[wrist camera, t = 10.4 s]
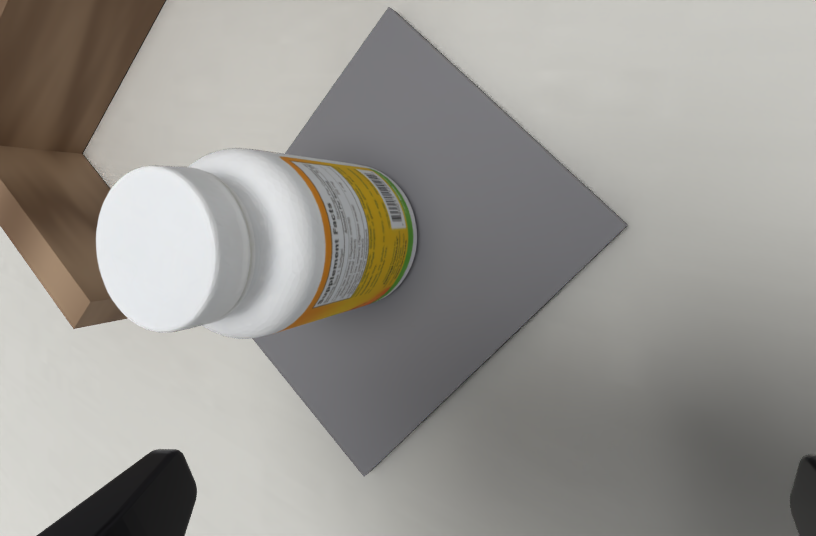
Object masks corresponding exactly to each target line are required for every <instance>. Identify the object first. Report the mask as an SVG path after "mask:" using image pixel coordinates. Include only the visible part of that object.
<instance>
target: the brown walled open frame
mask: <svg viewBox="0 0 816 536" xmlns="http://www.w3.org/2000/svg"><path fill="white" fill-rule="evenodd" d="M164 2H165V0H0V226H1V227H2V229H3V230H4V232H5V233H6V234H7V236H8V237H9V239H10V240H11V241H12V243H13V244H14V246H15V247H16V248H17V250H18V251H19V253H20V254H21V255H22V257H23V258H24V260H25V261H26V263H27V264H28V265H29V267H30V268H31V270H32V271H33V272H34V274H35V275H36V277H37V278H38V279H39V281H40V282H41V284H42V285H43V286H44V288H45V289H46V291H47V292H48V293H49V295H50V296H51V298H52V299H53V301H54V302H55V303H56V305H57V306H58V308H59V309H60V310H61V312H62V313H63V315H64V316H65V317H66V319H67V320H68V322H69V323H70V324H71V326H72V327H73V329H75V328H81V327H86V326H91V325H96V324H101V323H106V322H111V321H117V320H122V319H127V317H126V316H125V315H124V314H123V313H122V312H121V311H120V309H119V308H118V307H117V306H116V304H115V303H114V302H113V300H112V299H111V297H110V295H109V293H108V292H107V289H106V287H105V285H104V282H103V279H102V276H101V273H100V270H99V265H98V260H97V252H96V230H97V224H98V218H99V214H100V211H101V208H102V205H103V202H104V200H105V198H106V197H107V195H108V193H109V191H110V188H109V187H108V186H107V185H106V183H105V182H104V181H103V179H102V178H101V177H100V176H99V174H98V173H97V172H96V171H95V169H94V168H93V167H92V166H91V164H90V163H89V162H88V161H87V159H86V158H85V157H84V156H83V154H82V153H83V151H84V149H85V147H86V146H87V144H88V142H89V140H90V138H91V136H92V135H93V133H94V131H95V129H96V127H97V125H98V124H99V122H100V120H101V118H102V116H103V114H104V112H105V111H106V109H107V107H108V105H109V103H110V101H111V100H112V98H113V96H114V94H115V92H116V90H117V89H118V87H119V85H120V83H121V81H122V79H123V78H124V76H125V74H126V72H127V70H128V68H129V66H130V65H131V63H132V61H133V59H134V57H135V55H136V54H137V52H138V50H139V48H140V46H141V44H142V43H143V41H144V39H145V37H146V35H147V33H148V31H149V30H150V28H151V26H152V24H153V22H154V20H155V19H156V17H157V15H158V13H159V11H160V9H161V8H162V6H163V4H164Z"/></svg>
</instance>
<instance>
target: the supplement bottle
mask: <svg viewBox="0 0 816 536" xmlns="http://www.w3.org/2000/svg"><path fill="white" fill-rule="evenodd" d="M416 246H417V228H416V222H415V217H414V213H413V210H412V207H411V205H410V203H409V201H408V199H407V197H406V196H405V194H404V192H403V191H402V190H401V189H400V187H399V186H398V185H397V184H396V183H395V182H394V181H393V180H392V179H391V178H389V177H388V176H387V175H385V174H384V173H382V172H380V171H378V170H376V169H373V168H371V167H367V166H363V165H358V164H352V163H345V162H338V161H331V160H324V159H316V158H309V157H302V156H295V155H288V154H281V153H275V152H268V151H262V150H254V149H242V148H233V149H223V150H219V151H216V152H213V153H210V154H207V155H205V156H203V157H201V158H200V159H198V160H197V161H195V162H194V163H192V164H191V165H190V166H189V167H171V166H157V165H152V166H143V167H140V168H137V169H135V170H132V171H130V172H128V173H127V174H125V175H124V176H123V177H121V178H120V179H119V180H118V181H117V182H116V183H115V184H114V186H113V187H112V188H111V190H110V191H109V193H108V195H107V197H106V198H105V200H104V202H103V205H102V208H101V211H100V214H99V218H98V224H97V230H96V252H97V260H98V265H99V270H100V273H101V276H102V279H103V282H104V285H105V287H106V289H107V292H108V293H109V295H110V297H111V299H112V300H113V302H114V303H115V304H116V306H117V307H118V308H119V309H120V311H121V312H122V313H123V314H124V315H125V316H126V317H127V318H128V319H129V320H131V321H132V322H133V323H135V324H137V325H138V326H140V327H142V328H144V329H147V330H151V331H155V332H175V331H180V330H185V329H190V328H193V327H197V326H201V325H202V326H204V327H205V328H207V329H209V330H211V331H212V332H215V333H218V334H220V335H223V336H227V337H232V338H238V339H249V338H257V337H262V336H266V335H270V334H274V333H277V332H281V331H284V330H287V329H291V328H294V327H297V326H300V325H304V324H307V323H310V322H313V321H317V320H320V319H323V318H326V317H329V316H333V315H336V314H339V313H343V312H346V311H349V310H352V309H356V308H359V307H362V306H365V305H368V304H371V303H374V302H376V301H378V300H381V299H383V298H384V297H386V296H388V295H389V294H390V293H392V292H393V291H394V290H395V289H396V288H397V287H398V286H399V285H400V284H401V283H402V281H403V280H404V278H405V277H406V275H407V273H408V272H409V270H410V267H411V265H412V263H413V260H414V256H415V252H416Z"/></svg>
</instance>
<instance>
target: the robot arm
mask: <svg viewBox="0 0 816 536" xmlns="http://www.w3.org/2000/svg"><path fill="white" fill-rule="evenodd" d="M196 496H197V488H196V483H195V480H194V478H193V476H192V473H191V471H190V469H189V466H188V464H187V462H186V459H185V457H184V455H183V453H181V452H180V451H179V450H176V449H158V450H154V451H152V452H150V453H149V454H147V455H146V456H144V457H143V458H142V459H140V460H139V461H138V462H136V463H135V464H134V465H132V466H131V467H130V468H128V469H127V470H125V471H124V472H123V473H121V474H120V475H119V476H117V477H116V478H115V479H113V480H112V481H110V482H109V483H108V484H106V485H105V486H104V487H102V488H101V489H100V490H98V491H97V492H95V493H94V494H93V495H91V496H90V497H89V498H87V499H86V500H85V501H83V502H82V503H80V504H79V505H78V506H76V507H75V508H74V509H72V510H71V511H70V512H68V513H67V514H65V515H64V516H63V517H61V518H60V519H59V520H57V521H56V522H55V523H53V524H52V525H51V526H49V527H48V528H46V529H45V530H44V531H42V532H41V533H40V534H38V535H37V536H185V533H186V529H187V526H188V523H189V520H190V517H191V514H192V511H193V507H194V504H195V501H196ZM790 507H791V512H792V516H793V519H794V521H795V524H796V527H797V530H798V533H799V536H816V455H805V456H804V457H803V458H802V459H801V460H800V463H799V466H798V469H797V473H796V477H795V481H794V484H793V488H792V492H791V496H790Z"/></svg>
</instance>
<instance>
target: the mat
mask: <svg viewBox="0 0 816 536" xmlns="http://www.w3.org/2000/svg"><path fill="white" fill-rule="evenodd" d="M285 154H288V155H295V156H302V157H309V158H316V159H324V160H331V161H338V162H345V163H352V164H358V165H363V166H367V167H371V168H373V169H376V170H378V171H380V172H382V173H384V174H385V175H387V176H388V177H389V178H391V179H392V180H393V181H394V182H395V183H396V184H397V185H398V186H399V187H400V189H401V190H402V191H403V192H404V194H405V196H406V197H407V199H408V201H409V203H410V205H411V207H412V210H413V213H414V217H415V222H416V228H417V246H416V252H415V256H414V260H413V263H412V265H411V267H410V270H409V272H408V273H407V275H406V277H405V278H404V280H403V281H402V283H401V284H400V285H399V286H398V287H397V288H396V289H395V290H394V291H393V292H392V293H390V294H389V295H388V296H386V297H384V298H383V299H381V300H378V301H376V302H374V303H371V304H368V305H365V306H362V307H359V308H356V309H352V310H349V311H346V312H343V313H339V314H336V315H333V316H329V317H326V318H323V319H320V320H317V321H313V322H310V323H307V324H304V325H300V326H297V327H294V328H291V329H287V330H284V331H281V332H277V333H274V334H270V335H266V336H262V337H257V338H252V339H253V340H254V341H255V342H256V343H257V345H258V346H259V347H260V348H261V350H262V351H263V352H264V353H265V355H266V356H267V357H268V358H269V360H270V361H271V362H272V363H273V365H274V366H275V367H276V368H277V369H278V371H279V372H280V373H281V374H282V376H283V377H284V378H285V379H286V381H287V382H288V383H289V384H290V386H291V387H292V388H293V389H294V391H295V392H296V393H297V394H298V395H299V397H300V398H301V399H302V400H303V402H304V403H305V404H306V405H307V407H308V408H309V409H310V410H311V412H312V413H313V414H314V415H315V417H316V418H317V419H318V420H319V421H320V423H321V424H322V425H323V426H324V428H325V429H326V430H327V431H328V433H329V434H330V435H331V436H332V438H333V439H334V440H335V441H336V443H337V444H338V445H339V446H340V447H341V449H342V450H343V451H344V452H345V454H346V455H347V456H348V457H349V459H350V460H351V461H352V462H353V464H354V465H355V466H356V467H357V469H358V470H359V471H360V472H361V473H362V475H363V476H365V475H367V474H368V473H369V472H370V471H371V470H372V469H373V468H374V467H375V466H376V465H377V464H378V463H380V462H381V461H382V460H383V459H384V458H385V457H386V456H387V455H388V454H389V453H390V452H391V451H392V450H393V449H394V448H395V447H396V446H397V445H398V444H399V443H400V442H402V441H403V440H404V439H405V438H406V437H407V436H408V435H409V434H410V433H411V432H412V431H413V430H414V429H415V428H416V427H417V426H418V425H419V424H420V423H421V422H422V421H423V420H425V419H426V418H427V417H428V416H429V415H430V414H431V413H432V412H433V411H434V410H435V409H436V408H437V407H438V406H439V405H440V404H441V403H442V402H443V401H444V400H445V399H446V398H448V397H449V396H450V395H451V394H452V393H453V392H454V391H455V390H456V389H457V388H458V387H459V386H460V385H461V384H462V383H463V382H464V381H465V380H466V379H467V378H468V377H469V376H471V375H472V374H473V373H474V372H475V371H476V370H477V369H478V368H479V367H480V366H481V365H482V364H483V363H484V362H485V361H486V360H487V359H488V358H489V357H490V356H491V355H492V354H494V353H495V352H496V351H497V350H498V349H499V348H500V347H501V346H502V345H503V344H504V343H505V342H506V341H507V340H508V339H509V338H510V337H511V336H512V335H513V334H514V333H516V332H517V331H518V330H519V329H520V328H521V327H522V326H523V325H524V324H525V323H526V322H527V321H528V320H529V319H530V318H531V317H532V316H533V315H534V314H535V313H536V312H537V311H539V310H540V309H541V308H542V307H543V306H544V305H545V304H546V303H547V302H548V301H549V300H550V299H551V298H552V297H553V296H554V295H555V294H556V293H557V292H558V291H559V290H560V289H562V288H563V287H564V286H565V285H566V284H567V283H568V282H569V281H570V280H571V279H572V278H573V277H574V276H575V275H576V274H577V273H578V272H579V271H580V270H581V269H582V268H583V267H585V266H586V265H587V264H588V263H589V262H590V261H591V260H592V259H593V258H594V257H595V256H596V255H597V254H598V253H599V252H600V251H601V250H602V249H603V248H604V247H605V246H606V245H608V244H609V243H610V242H611V241H612V240H613V239H614V238H615V237H616V236H617V235H618V234H619V233H620V232H621V231H622V230H623V229H624V228H625V227H626V226H627V224H626V223H625V222H624V221H623V220H622V219H621V218H620V217H619V216H618V215H616V214H615V213H614V212H613V211H612V210H611V209H610V208H609V207H608V206H607V205H606V204H605V203H603V202H602V201H601V200H600V199H599V198H598V197H597V196H596V195H595V194H594V193H593V192H591V191H590V190H589V189H588V188H587V187H586V186H585V185H584V184H583V183H582V182H581V181H579V180H578V179H577V178H576V177H575V176H574V175H573V174H572V173H571V172H570V171H569V170H568V169H566V168H565V167H564V166H563V165H562V164H561V163H560V162H559V161H558V160H557V159H556V158H554V157H553V156H552V155H551V154H550V153H549V152H548V151H547V150H546V149H545V148H544V147H542V146H541V145H540V144H539V143H538V142H537V141H536V140H535V139H534V138H533V137H532V136H531V135H529V134H528V133H527V132H526V131H525V130H524V129H523V128H522V127H521V126H520V125H519V124H517V123H516V122H515V121H514V120H513V119H512V118H511V117H510V116H509V115H508V114H507V113H505V112H504V111H503V110H502V109H501V108H500V107H499V106H498V105H497V104H496V103H495V102H493V101H492V100H491V99H490V98H489V97H488V96H487V95H486V94H485V93H484V92H483V91H482V90H480V89H479V88H478V87H477V86H476V85H475V84H474V83H473V82H472V81H471V80H470V79H468V78H467V77H466V76H465V75H464V74H463V73H462V72H461V71H460V70H459V69H458V68H456V67H455V66H454V65H453V64H452V63H451V62H450V61H449V60H448V59H447V58H446V57H445V56H443V55H442V54H441V53H440V52H439V51H438V50H437V49H436V48H435V47H434V46H433V45H431V44H430V43H429V42H428V41H427V40H426V39H425V38H424V37H423V36H422V35H421V34H419V33H418V32H417V31H416V30H415V29H414V28H413V27H412V26H411V25H410V24H409V23H408V22H406V21H405V20H404V19H403V18H402V17H401V16H400V15H399V14H398V13H397V12H395V11H394V10H393V9H391V8H390V7H388V9H387V10H386V12H385V13H384V14H383V16H382V17H381V19H380V20H379V21H378V23H377V24H376V26H375V27H374V29H373V30H372V31H371V33H370V34H369V36H368V37H367V38H366V40H365V41H364V43H363V44H362V46H361V47H360V48H359V50H358V51H357V53H356V54H355V55H354V57H353V58H352V60H351V61H350V62H349V64H348V65H347V67H346V68H345V70H344V71H343V72H342V74H341V75H340V77H339V78H338V79H337V81H336V82H335V84H334V85H333V86H332V88H331V89H330V91H329V92H328V94H327V95H326V96H325V98H324V99H323V101H322V102H321V103H320V105H319V106H318V108H317V109H316V111H315V112H314V113H313V115H312V116H311V118H310V119H309V120H308V122H307V123H306V125H305V126H304V127H303V129H302V130H301V132H300V133H299V135H298V136H297V137H296V139H295V140H294V142H293V143H292V144H291V146H290V147H289V149H288V150H287V152H286V153H285Z"/></svg>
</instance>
